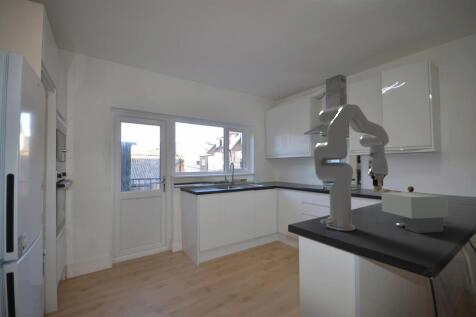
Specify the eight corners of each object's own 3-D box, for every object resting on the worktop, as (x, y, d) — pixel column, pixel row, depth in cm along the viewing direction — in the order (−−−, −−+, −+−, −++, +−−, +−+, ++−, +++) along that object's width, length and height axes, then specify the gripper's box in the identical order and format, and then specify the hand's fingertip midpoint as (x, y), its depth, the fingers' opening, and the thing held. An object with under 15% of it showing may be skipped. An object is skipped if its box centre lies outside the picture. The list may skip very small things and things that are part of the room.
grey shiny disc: (410, 226, 106) (410, 224, 106) (404, 226, 104) (404, 225, 104) (399, 224, 110) (399, 222, 110) (393, 225, 108) (393, 223, 108)
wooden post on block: (373, 192, 129) (373, 172, 130) (378, 192, 130) (377, 172, 130) (397, 196, 114) (396, 173, 114) (402, 195, 114) (401, 173, 114)
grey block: (411, 233, 95) (411, 197, 95) (381, 223, 111) (380, 192, 111) (448, 231, 98) (447, 196, 98) (413, 221, 114) (413, 191, 115)
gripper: (370, 155, 124) (370, 186, 123) (394, 155, 126) (395, 186, 126) (360, 155, 131) (361, 185, 131) (383, 155, 134) (384, 184, 133)
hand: (377, 185), depth 128 cm, fingers closed on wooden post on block, 3 cm apart
